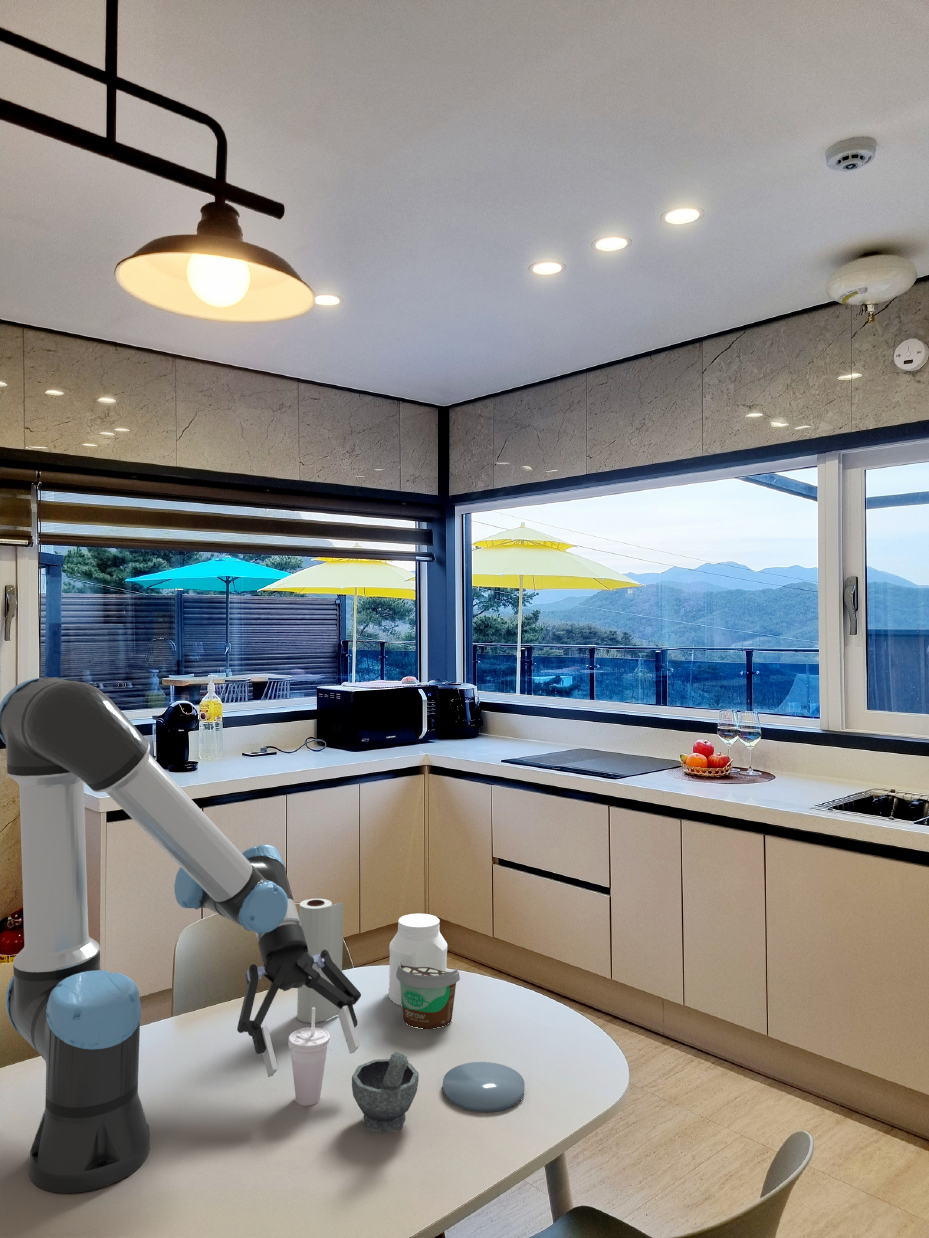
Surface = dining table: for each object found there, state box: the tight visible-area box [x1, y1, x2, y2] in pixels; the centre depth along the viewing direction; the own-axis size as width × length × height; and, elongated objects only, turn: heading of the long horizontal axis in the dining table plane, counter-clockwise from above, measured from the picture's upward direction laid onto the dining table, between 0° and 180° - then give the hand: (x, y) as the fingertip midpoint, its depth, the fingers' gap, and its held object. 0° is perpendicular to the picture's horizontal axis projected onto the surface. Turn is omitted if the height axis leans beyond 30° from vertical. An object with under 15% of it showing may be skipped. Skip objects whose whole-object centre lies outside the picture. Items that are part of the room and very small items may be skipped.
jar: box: [387, 913, 448, 1006], centre depth 174 cm, size 12×10×15 cm
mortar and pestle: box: [351, 1051, 420, 1134], centre depth 129 cm, size 11×9×12 cm
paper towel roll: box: [296, 898, 344, 1024], centre depth 163 cm, size 7×6×21 cm
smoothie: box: [287, 1007, 331, 1107], centre depth 135 cm, size 6×6×14 cm
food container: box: [396, 961, 461, 1030], centre depth 161 cm, size 12×6×10 cm, turn 73°
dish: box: [442, 1061, 526, 1113], centre depth 139 cm, size 13×13×1 cm
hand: (315, 1061), depth 134 cm, fingers open, 13 cm apart
